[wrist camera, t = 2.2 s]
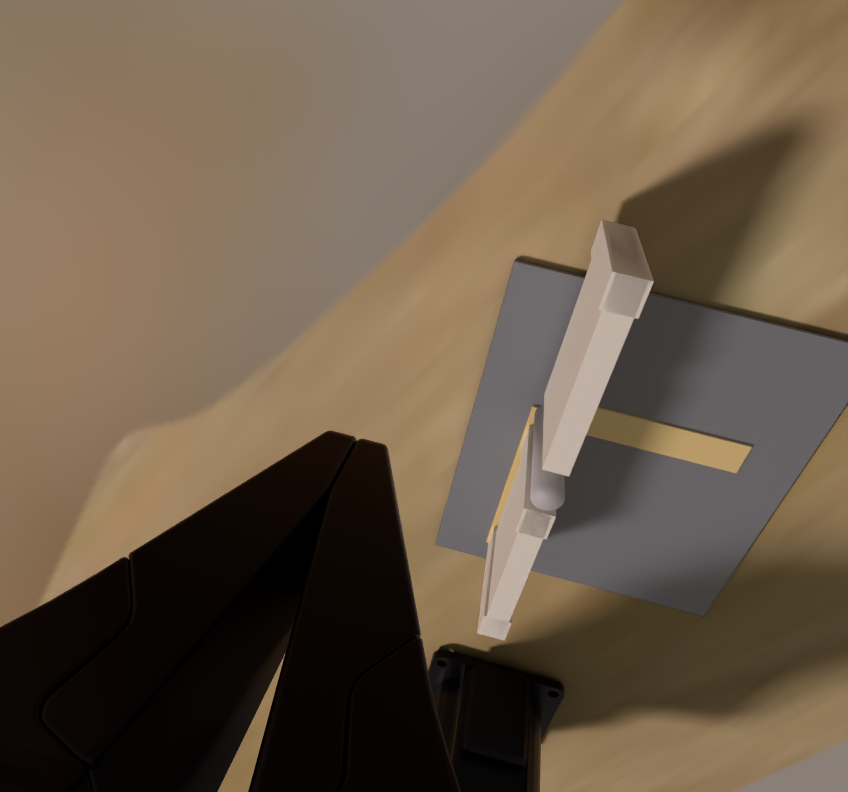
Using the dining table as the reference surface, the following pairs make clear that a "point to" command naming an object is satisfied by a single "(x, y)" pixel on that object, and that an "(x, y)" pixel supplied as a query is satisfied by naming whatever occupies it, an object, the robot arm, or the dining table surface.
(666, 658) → the dining table surface
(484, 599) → the fixed panel
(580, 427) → the swing panel
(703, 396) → the board
